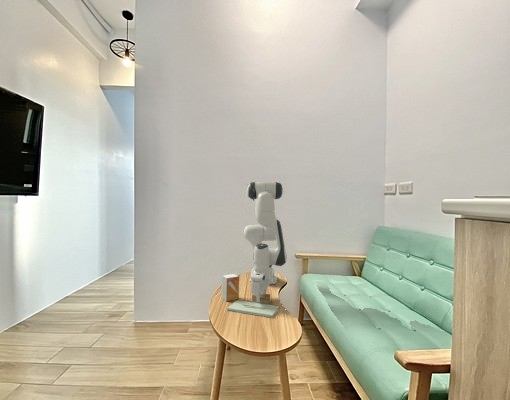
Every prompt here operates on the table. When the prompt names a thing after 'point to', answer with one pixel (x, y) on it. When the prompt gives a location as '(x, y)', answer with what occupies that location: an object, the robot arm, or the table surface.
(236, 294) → the small box
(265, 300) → the block
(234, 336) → the table surface
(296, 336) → the table surface
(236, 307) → the board
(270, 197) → the robot arm
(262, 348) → the table surface
